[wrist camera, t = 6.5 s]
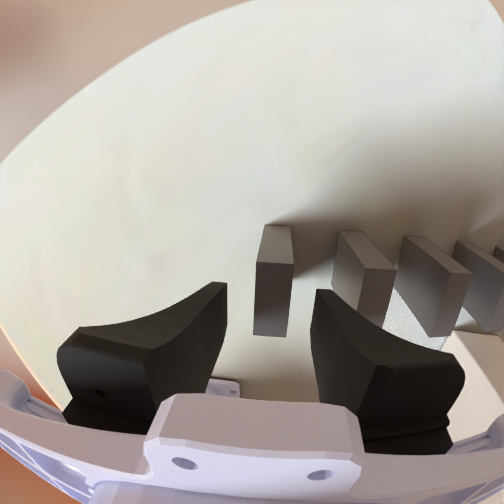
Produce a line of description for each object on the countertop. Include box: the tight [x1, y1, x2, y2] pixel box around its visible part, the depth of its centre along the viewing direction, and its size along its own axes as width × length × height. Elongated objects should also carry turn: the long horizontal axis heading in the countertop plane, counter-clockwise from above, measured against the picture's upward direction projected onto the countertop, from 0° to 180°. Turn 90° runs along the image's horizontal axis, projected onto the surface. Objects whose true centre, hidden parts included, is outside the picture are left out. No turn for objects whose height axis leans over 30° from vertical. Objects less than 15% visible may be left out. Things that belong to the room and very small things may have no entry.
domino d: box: [453, 241, 504, 332], centre depth 14 cm, size 4×2×6 cm, turn 178°
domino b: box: [331, 230, 397, 328], centre depth 14 cm, size 4×2×6 cm, turn 178°
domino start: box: [253, 225, 294, 337], centre depth 15 cm, size 4×2×6 cm, turn 178°
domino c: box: [394, 235, 472, 337], centre depth 14 cm, size 4×2×6 cm, turn 178°
